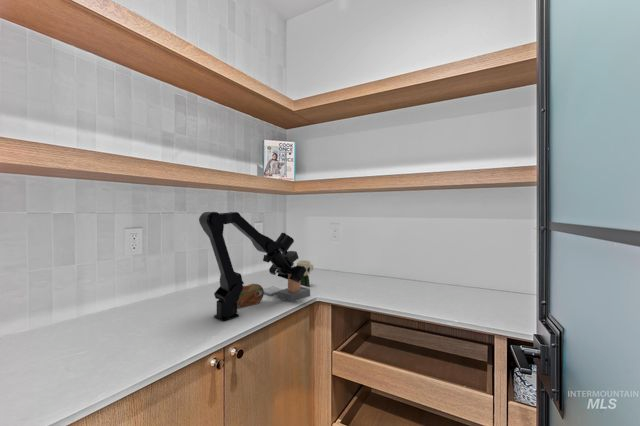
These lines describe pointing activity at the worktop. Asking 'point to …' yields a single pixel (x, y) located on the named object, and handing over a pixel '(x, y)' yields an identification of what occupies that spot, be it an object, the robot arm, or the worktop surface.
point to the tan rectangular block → (293, 285)
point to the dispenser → (293, 294)
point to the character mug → (309, 268)
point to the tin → (250, 295)
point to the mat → (271, 291)
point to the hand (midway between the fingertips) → (296, 281)
